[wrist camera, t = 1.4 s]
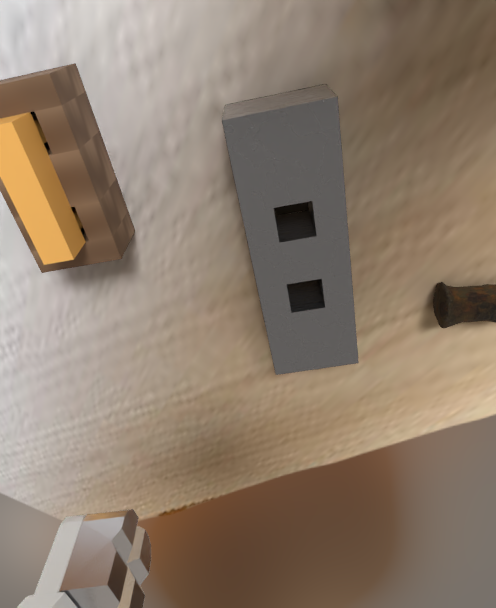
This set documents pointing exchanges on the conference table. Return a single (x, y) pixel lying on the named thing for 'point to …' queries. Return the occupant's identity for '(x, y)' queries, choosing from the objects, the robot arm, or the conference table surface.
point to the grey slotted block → (296, 223)
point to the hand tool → (464, 304)
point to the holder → (72, 161)
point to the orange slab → (38, 190)
